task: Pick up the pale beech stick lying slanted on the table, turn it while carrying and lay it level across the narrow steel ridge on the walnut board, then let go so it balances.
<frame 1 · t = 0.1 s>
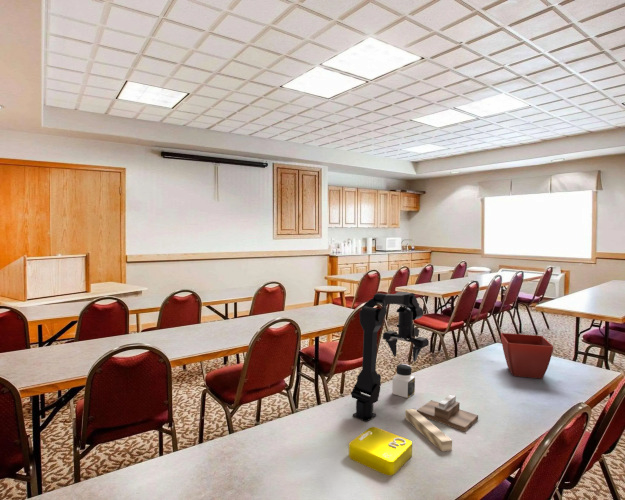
hand: (404, 358, 160), 15 cm above the table, tool pointing down, fingers open, 9 cm apart
plant pot: (524, 373, 186), on the table
balance stand: (447, 416, 140), on the table
medicine bottle: (403, 393, 161), on the table
element tile: (380, 457, 115), on the table
beech stick: (426, 433, 129), on the table
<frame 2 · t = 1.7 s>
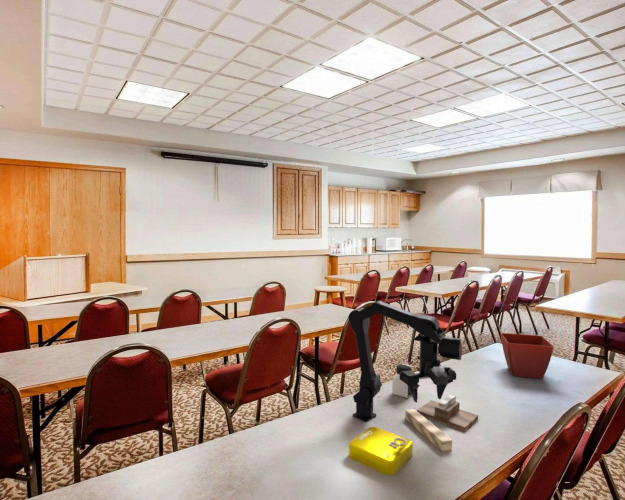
hand: (427, 400, 128), 11 cm above the table, tool pointing down, fingers open, 9 cm apart
nothing on the table moved.
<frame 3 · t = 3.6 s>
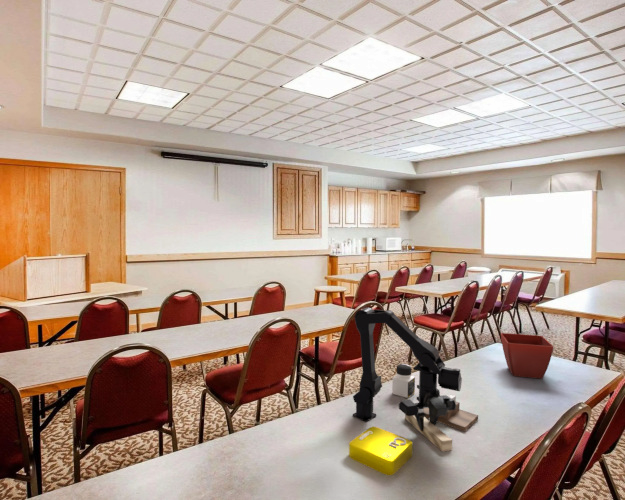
hand: (426, 429, 129), 1 cm above the table, tool pointing down, fingers closed on beech stick, 3 cm apart
beech stick: (426, 433, 129), on the table, touching gripper
everything else where it was.
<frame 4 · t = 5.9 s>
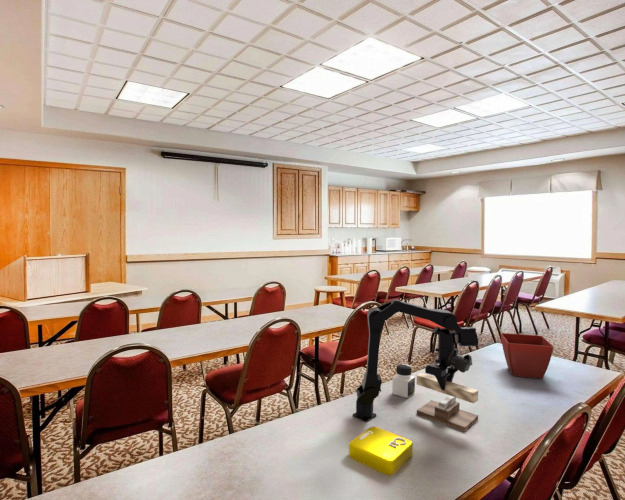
hand: (445, 388, 138), 11 cm above the table, tool pointing down, fingers closed on beech stick, 3 cm apart
beech stick: (445, 391, 138), point 10 cm above the table, touching gripper
everything else where it was.
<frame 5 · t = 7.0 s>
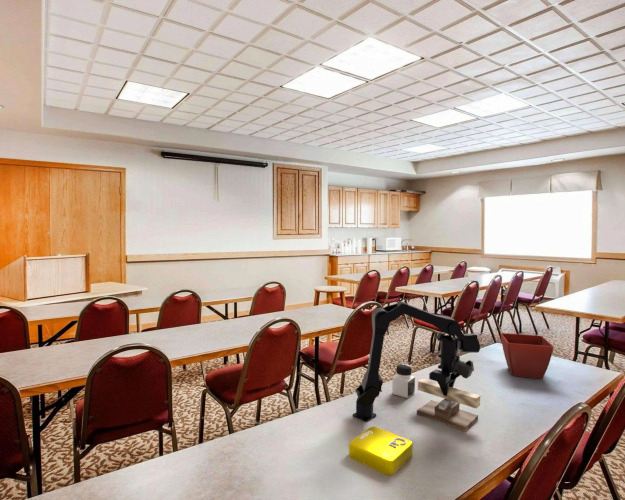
hand: (447, 394, 140), 8 cm above the table, tool pointing down, fingers closed on beech stick, 3 cm apart
beech stick: (447, 397, 140), point 7 cm above the table, touching gripper
everything else where it was.
when the fingers open (8 cm above the table, at t = 7.8 s): beech stick stays where it is, resting on balance stand.
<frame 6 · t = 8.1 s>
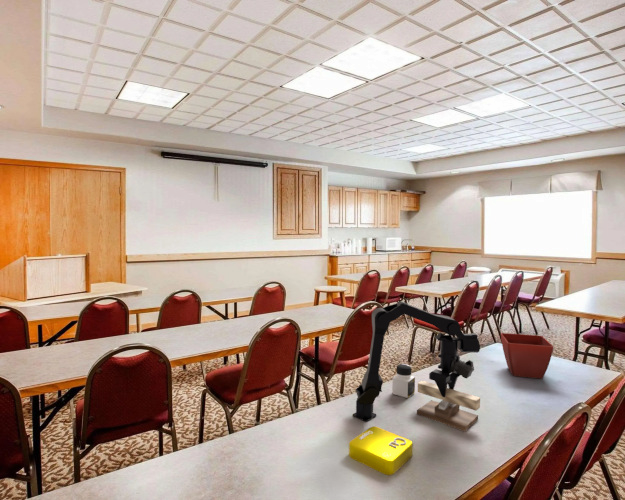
hand: (447, 394, 140), 8 cm above the table, tool pointing down, fingers open, 6 cm apart
beech stick: (447, 399, 140), point 6 cm above the table, touching balance stand
everything else where it was.
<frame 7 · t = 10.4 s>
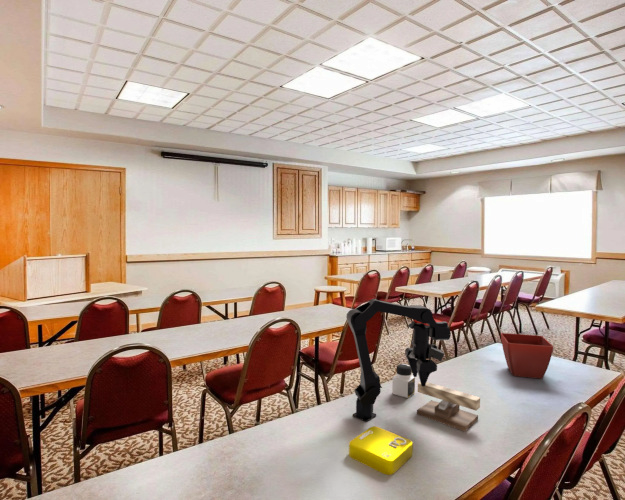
hand: (419, 381, 143), 12 cm above the table, tool pointing down, fingers open, 9 cm apart
nothing on the table moved.
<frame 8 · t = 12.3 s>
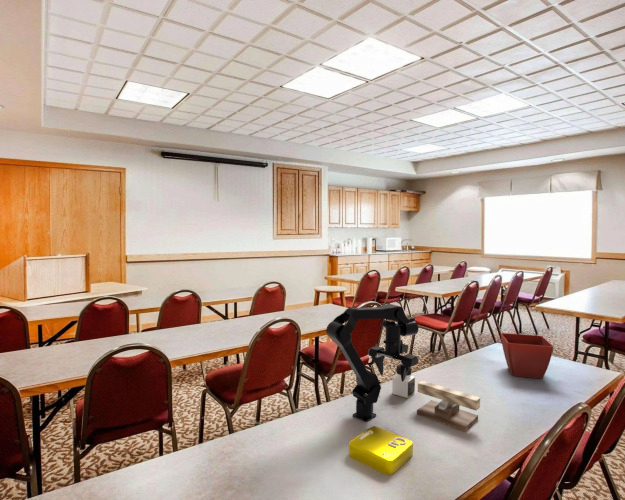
hand: (392, 378, 146), 12 cm above the table, tool pointing down, fingers open, 9 cm apart
nothing on the table moved.
at the end: beech stick 0.1 cm off-centre on the balance stand, point 6.5 cm above the balance stand's base; beech stick tilted 0°; the gripper is holding nothing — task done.
